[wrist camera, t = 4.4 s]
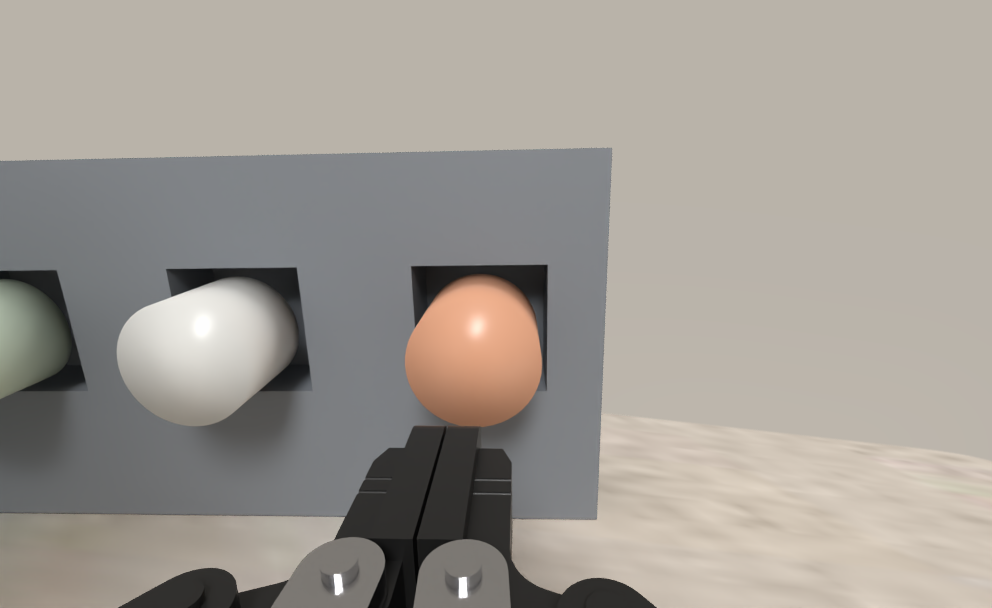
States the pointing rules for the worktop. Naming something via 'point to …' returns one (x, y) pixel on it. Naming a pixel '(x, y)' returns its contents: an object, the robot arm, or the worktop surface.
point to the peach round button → (475, 352)
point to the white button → (207, 349)
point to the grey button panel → (300, 320)
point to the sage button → (30, 337)
